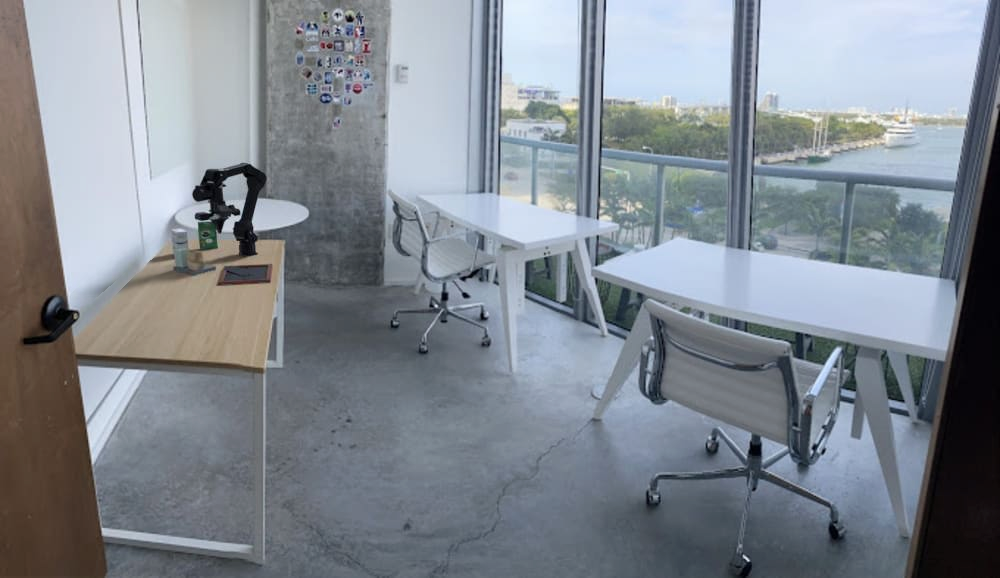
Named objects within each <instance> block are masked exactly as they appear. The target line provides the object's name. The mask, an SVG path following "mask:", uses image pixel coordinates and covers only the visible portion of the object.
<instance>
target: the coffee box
mask: <svg viewBox="0 0 1000 578" xmlns="http://www.w3.org/2000/svg"><path fill="white" fill-rule="evenodd" d="M197 232H198V244H199V249H201V250H210V249H209V248H212V249H213V248H214V249H218V248H219V247H218V235H217V234H218V232H217V230H216V228H215V226H214V225H213V223H212V222H211V220H205V221H197Z"/></svg>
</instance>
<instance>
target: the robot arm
mask: <svg viewBox="0 0 1000 578" xmlns="http://www.w3.org/2000/svg"><path fill="white" fill-rule="evenodd" d="M241 174H242V175H243V177H244V178H245V179H246V183H245V184H246V186H247V194H246V197H245V200H244V204H243V208H242V212H241V209H240V208H236V206H235V204H229V205H227V203H226V200H224V193H223V192H224V189H223V188H226V187H227V185H226V184H225V183H224V182H226V180H228V178H232V177H235V176H238V175H241ZM267 178H268V177H267V175H266V174H265V172H264V171H263V172H262V170H260V169H258V168H257V167H255V166H253V165H252V164H251V163H249V162H241V163H239V164H235V165H232V166H227V167H224V168H207V169H206V170H205V172H204V175H203V177H202V179H201V182H200V184H198V185H194V189H193V190H192V193H191V195H192V198H193V200H194V201H195V202H197V203H198V202H199V203H200V202H205V201H207V203H208V204H209V208H210V209H208V212H205V211H199V212H195V214H194V219H195V220H196V221H198V222H204V221H211V222H212V223H213V225H214V226H215V228H216V231H217V234H222V232H223V228H224V225H225V222H226V221H227V220H229V218H231V217H232V215H233V216H234V217H238V216H241V217H240V219H239V220H238V221H234V223H233V225H234V226H233V228H232V234H233V236H234V238H235V240H236V241H237V242H238V243H239V245H238V255H240V256H243V257H249V256H254V255H258V254H259V253H258V252H257V251H256V249H257V248H256V243H257V242H259V241H258V240H259V236H258V235H257V234H256V233H255V232H254V228H255V227H254V225H253V218H254V214H255V210H256V206H257V202H258V199H259V198H258V197H259V195H260V192H261V190H262V189H264V188H265V186H266V183H267Z"/></svg>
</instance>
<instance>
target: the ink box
mask: <svg viewBox="0 0 1000 578" xmlns="http://www.w3.org/2000/svg"><path fill="white" fill-rule="evenodd" d="M170 232H171V233H170V234H171V244H172V251H173V255H174V250H177V249H181V248H185V249H190V248H189V239H188V238H189V237H188V236H189V235H188V231H186V230H185V229H183V228H171V229H170Z"/></svg>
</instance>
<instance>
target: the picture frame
mask: <svg viewBox="0 0 1000 578" xmlns="http://www.w3.org/2000/svg"><path fill="white" fill-rule="evenodd" d="M272 273H273V263H261V264H240V265H224V266H223V268H222V271H221V274H220V277H219V279H218V286H222V285H221V284H232V285H243V284H242V283H250V284H261V283H260V282H268V283H271V282H272ZM258 282H259V283H258Z"/></svg>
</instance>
